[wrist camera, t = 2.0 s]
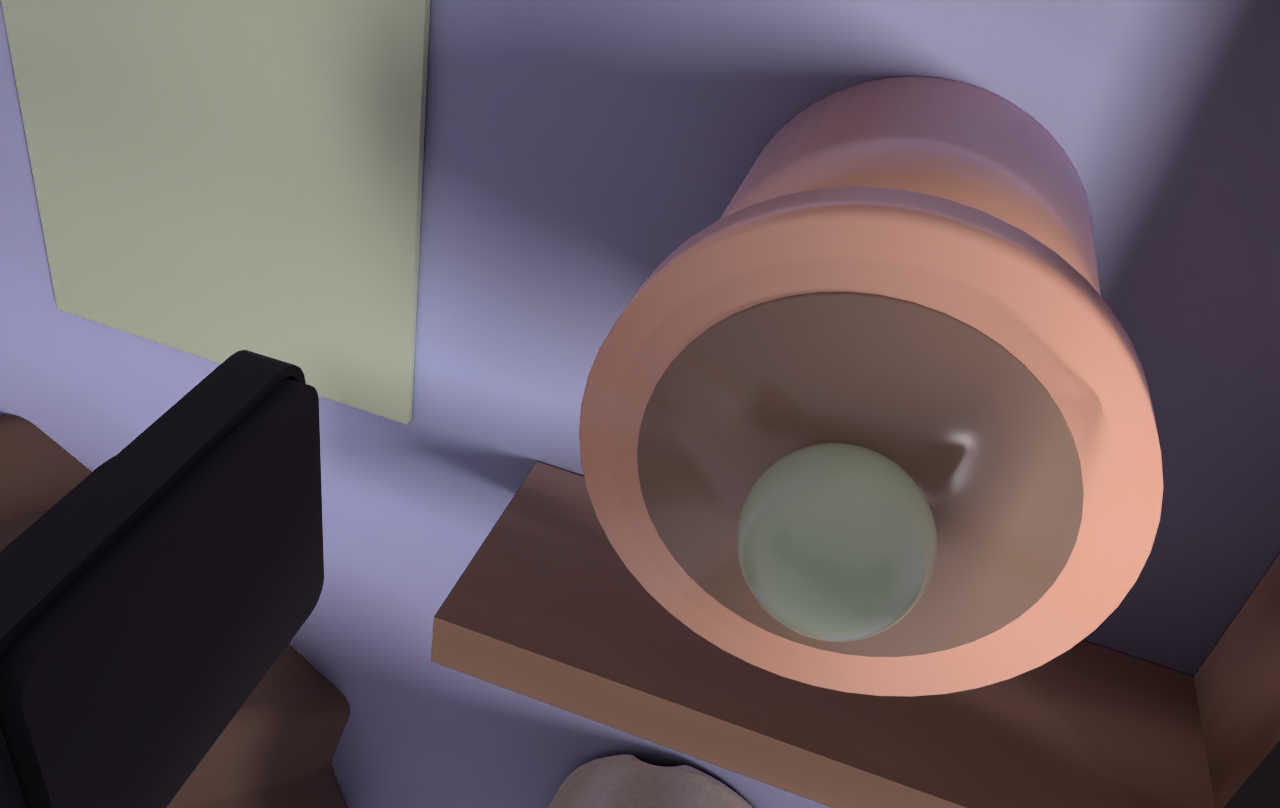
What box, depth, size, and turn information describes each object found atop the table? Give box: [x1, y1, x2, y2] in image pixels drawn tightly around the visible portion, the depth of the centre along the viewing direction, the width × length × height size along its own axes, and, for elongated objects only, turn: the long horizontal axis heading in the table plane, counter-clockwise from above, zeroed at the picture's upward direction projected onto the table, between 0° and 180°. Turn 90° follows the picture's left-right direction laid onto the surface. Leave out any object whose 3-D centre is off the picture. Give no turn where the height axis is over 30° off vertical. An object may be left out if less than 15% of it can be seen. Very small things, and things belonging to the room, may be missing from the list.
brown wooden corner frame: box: [431, 461, 1280, 808], centre depth 16 cm, size 18×15×5 cm
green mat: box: [1, 0, 431, 425], centre depth 20 cm, size 14×9×1 cm, turn 170°
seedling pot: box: [579, 76, 1164, 696], centre depth 15 cm, size 7×7×9 cm
